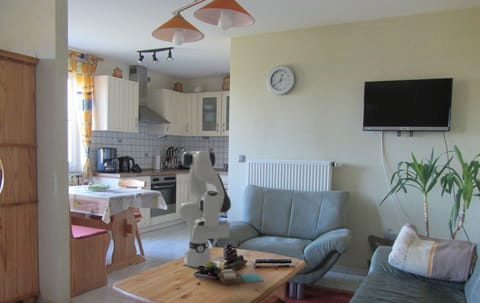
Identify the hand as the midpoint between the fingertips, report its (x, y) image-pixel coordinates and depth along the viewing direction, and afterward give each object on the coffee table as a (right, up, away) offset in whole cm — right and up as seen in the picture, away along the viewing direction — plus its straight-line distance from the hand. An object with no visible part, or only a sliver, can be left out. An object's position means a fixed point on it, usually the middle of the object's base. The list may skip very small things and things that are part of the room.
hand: (210, 246), depth 205 cm
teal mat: (+23, -20, +7) cm, 31 cm away
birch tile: (+10, -17, +3) cm, 20 cm away
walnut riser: (+11, -19, +3) cm, 22 cm away
